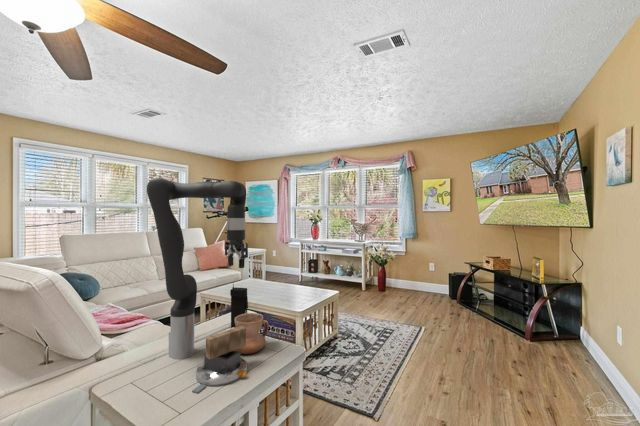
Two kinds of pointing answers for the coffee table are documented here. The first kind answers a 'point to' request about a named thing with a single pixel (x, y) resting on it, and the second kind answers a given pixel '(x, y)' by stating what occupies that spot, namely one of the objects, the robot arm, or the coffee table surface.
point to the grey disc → (221, 369)
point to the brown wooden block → (225, 342)
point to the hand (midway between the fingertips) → (236, 266)
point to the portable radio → (238, 303)
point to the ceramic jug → (252, 332)
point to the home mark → (199, 388)
